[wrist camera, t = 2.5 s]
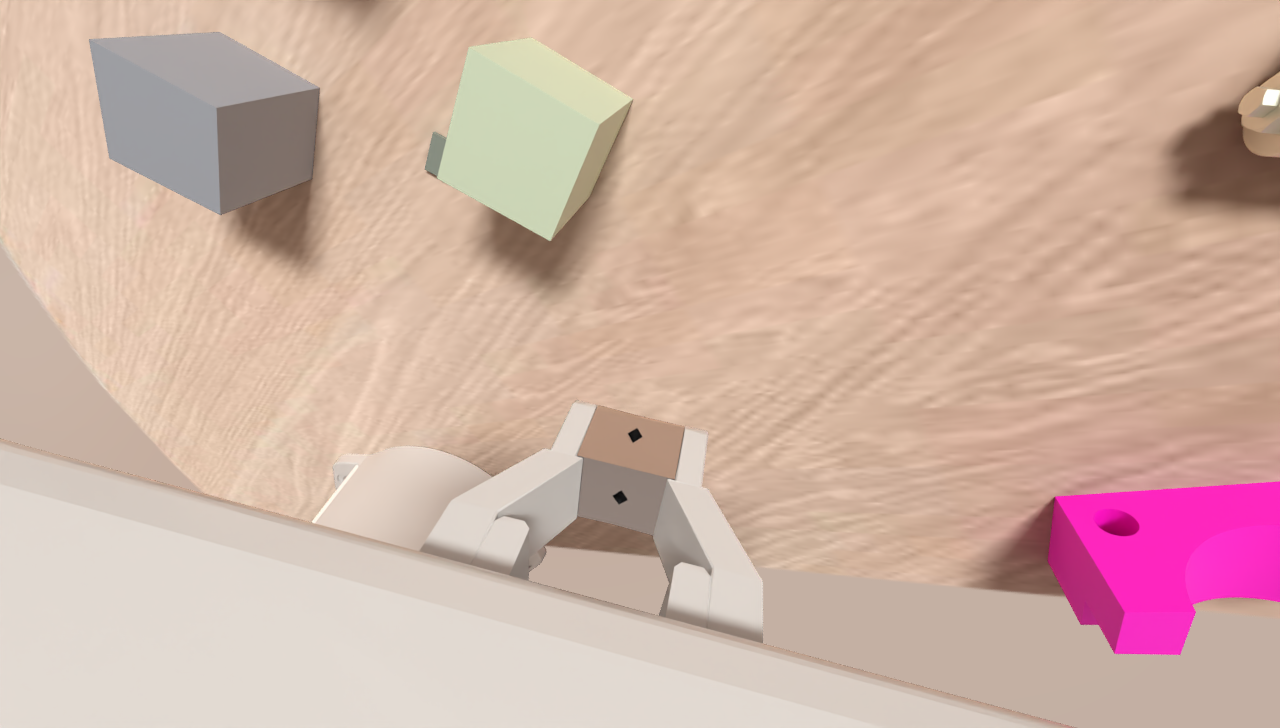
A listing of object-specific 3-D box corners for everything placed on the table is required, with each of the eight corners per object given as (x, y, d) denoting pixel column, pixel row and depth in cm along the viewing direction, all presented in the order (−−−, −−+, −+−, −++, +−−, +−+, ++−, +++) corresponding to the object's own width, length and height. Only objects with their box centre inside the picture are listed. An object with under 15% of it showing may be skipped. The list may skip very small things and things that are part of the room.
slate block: (312, 178, 28) (220, 215, 23) (223, 130, 27) (109, 158, 23) (320, 87, 25) (216, 107, 20) (220, 31, 25) (89, 39, 20)
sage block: (589, 196, 26) (550, 241, 21) (498, 144, 25) (436, 178, 20) (633, 99, 23) (599, 124, 18) (532, 37, 22) (469, 46, 17)
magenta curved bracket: (1046, 558, 34) (1108, 678, 28) (1053, 494, 31) (1125, 612, 25) (1361, 547, 29) (1519, 689, 23) (1407, 469, 26) (1603, 609, 20)
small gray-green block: (448, 180, 27) (446, 181, 26) (426, 168, 26) (424, 169, 26) (457, 144, 25) (455, 145, 25) (435, 131, 25) (433, 132, 25)
